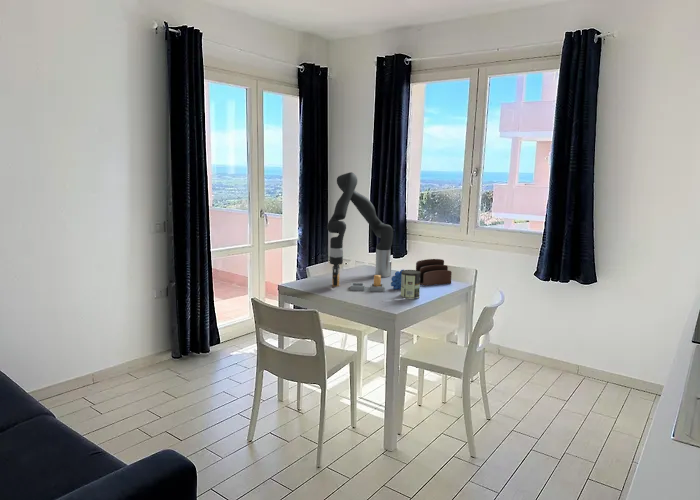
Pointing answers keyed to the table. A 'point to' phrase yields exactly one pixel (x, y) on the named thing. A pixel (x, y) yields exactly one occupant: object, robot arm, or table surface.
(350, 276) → the table surface
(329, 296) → the table surface
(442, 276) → the letter holder
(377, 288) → the grey peg socket base
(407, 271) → the coffee can
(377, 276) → the seated jaw peg
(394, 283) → the grapes
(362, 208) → the robot arm
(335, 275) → the loose jaw peg
